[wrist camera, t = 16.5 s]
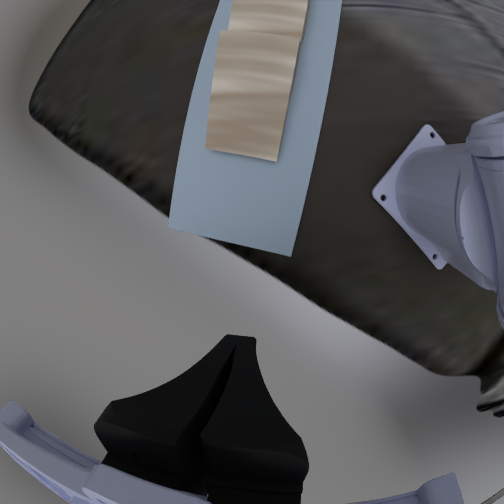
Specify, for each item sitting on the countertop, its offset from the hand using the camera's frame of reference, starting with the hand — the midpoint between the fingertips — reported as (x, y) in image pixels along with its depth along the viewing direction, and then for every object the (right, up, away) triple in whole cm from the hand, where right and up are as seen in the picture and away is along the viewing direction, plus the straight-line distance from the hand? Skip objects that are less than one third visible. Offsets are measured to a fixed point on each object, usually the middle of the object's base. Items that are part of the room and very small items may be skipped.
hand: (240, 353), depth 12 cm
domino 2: (0, +12, +6) cm, 13 cm away
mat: (+2, +20, +5) cm, 21 cm away
